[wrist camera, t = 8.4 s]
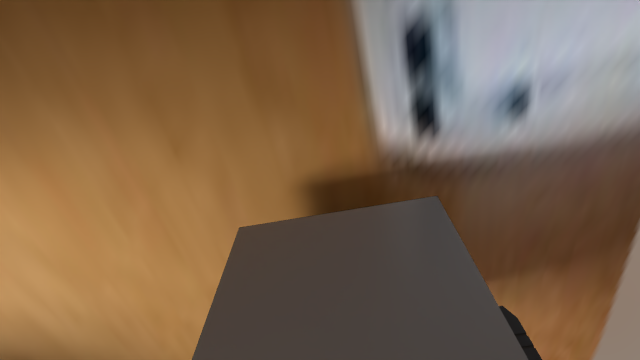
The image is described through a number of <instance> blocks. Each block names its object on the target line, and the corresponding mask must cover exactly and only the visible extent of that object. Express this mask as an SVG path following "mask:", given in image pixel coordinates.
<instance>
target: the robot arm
mask: <svg viewBox="0 0 640 360" xmlns="http://www.w3.org/2000/svg"><path fill="white" fill-rule="evenodd" d="M499 308H500V310H501V311H502V313H503V315H504V317H505V319H506V320H507V322H508V324H509V326H510V328H511V329H512V331H513V333H514V335H515V337H516V338H517V340H518V342H519V344H520V346H521V347H522V349H523V351H524V353H525V355H526V356H527V358H528V360H542V359H541V357H540V355H539V354H538V352H537V350H536V349H535V348H534V346H533V344H532V342H531V340H530V338H529V337H528V336H527V335H526V332H525V330H524V328H523V327H522V325H521V323H520V322H519V320H518V318H517V317H516V316H514V315H513V314H512V313H511V312H509V311H508V310H507V309H506V308H504V307H503V306H499Z"/></svg>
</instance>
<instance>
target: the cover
mask: <svg viewBox="0 0 640 360" xmlns="http://www.w3.org/2000/svg"><path fill="white" fill-rule="evenodd" d="M192 360H528V358H527V356H526V355H525V353H524V351H523V349H522V347H521V346H520V344H519V342H518V340H517V338H516V337H515V335H514V333H513V331H512V329H511V328H510V326H509V324H508V322H507V320H506V319H505V317H504V315H503V313H502V311H501V310H500V308H499V306H498V304H497V303H496V301H495V299H494V297H493V295H492V294H491V292H490V290H489V288H488V286H487V285H486V283H485V281H484V279H483V277H482V276H481V274H480V272H479V270H478V268H477V267H476V265H475V263H474V261H473V259H472V258H471V256H470V254H469V252H468V250H467V249H466V247H465V245H464V243H463V241H462V240H461V238H460V236H459V234H458V233H457V231H456V229H455V227H454V225H453V224H452V222H451V220H450V218H449V216H448V215H447V213H446V211H445V209H444V207H443V206H442V204H441V202H440V200H439V198H438V197H437V196H433V197H427V198H420V199H414V200H408V201H402V202H395V203H389V204H383V205H377V206H371V207H364V208H358V209H352V210H346V211H339V212H333V213H327V214H321V215H315V216H308V217H302V218H296V219H290V220H283V221H277V222H271V223H265V224H258V225H252V226H246V227H240V228H239V230H238V232H237V235H236V238H235V241H234V244H233V246H232V249H231V252H230V255H229V257H228V260H227V263H226V266H225V269H224V271H223V274H222V277H221V280H220V283H219V285H218V288H217V291H216V294H215V296H214V299H213V302H212V305H211V308H210V310H209V313H208V316H207V319H206V322H205V324H204V327H203V330H202V333H201V335H200V338H199V341H198V344H197V347H196V349H195V352H194V355H193V358H192Z"/></svg>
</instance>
